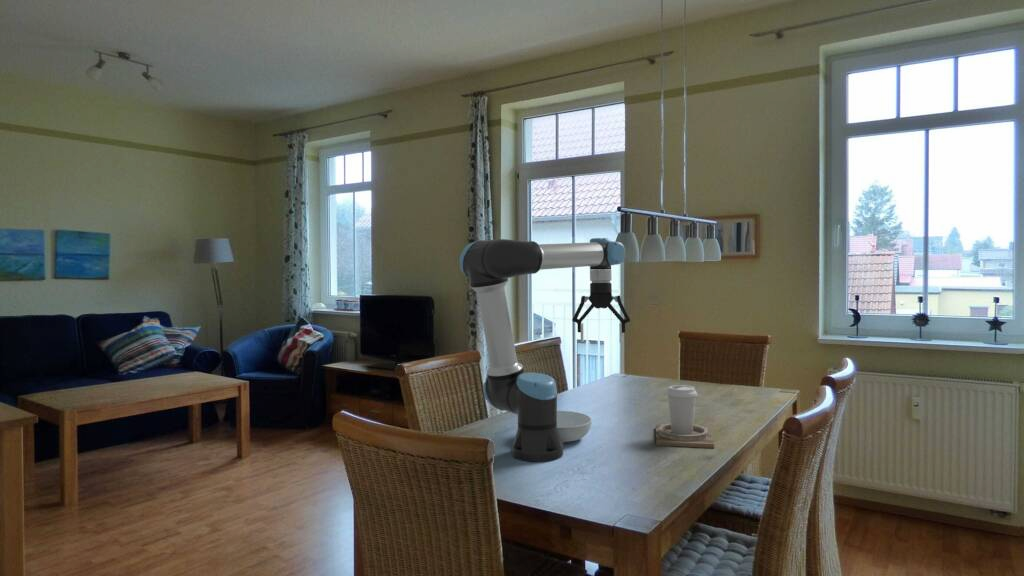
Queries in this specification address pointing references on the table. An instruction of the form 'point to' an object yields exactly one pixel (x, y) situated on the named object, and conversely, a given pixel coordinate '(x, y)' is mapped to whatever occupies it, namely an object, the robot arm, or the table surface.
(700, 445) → the carrier board
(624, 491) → the table surface
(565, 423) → the serving bowl
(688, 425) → the coffee cup
